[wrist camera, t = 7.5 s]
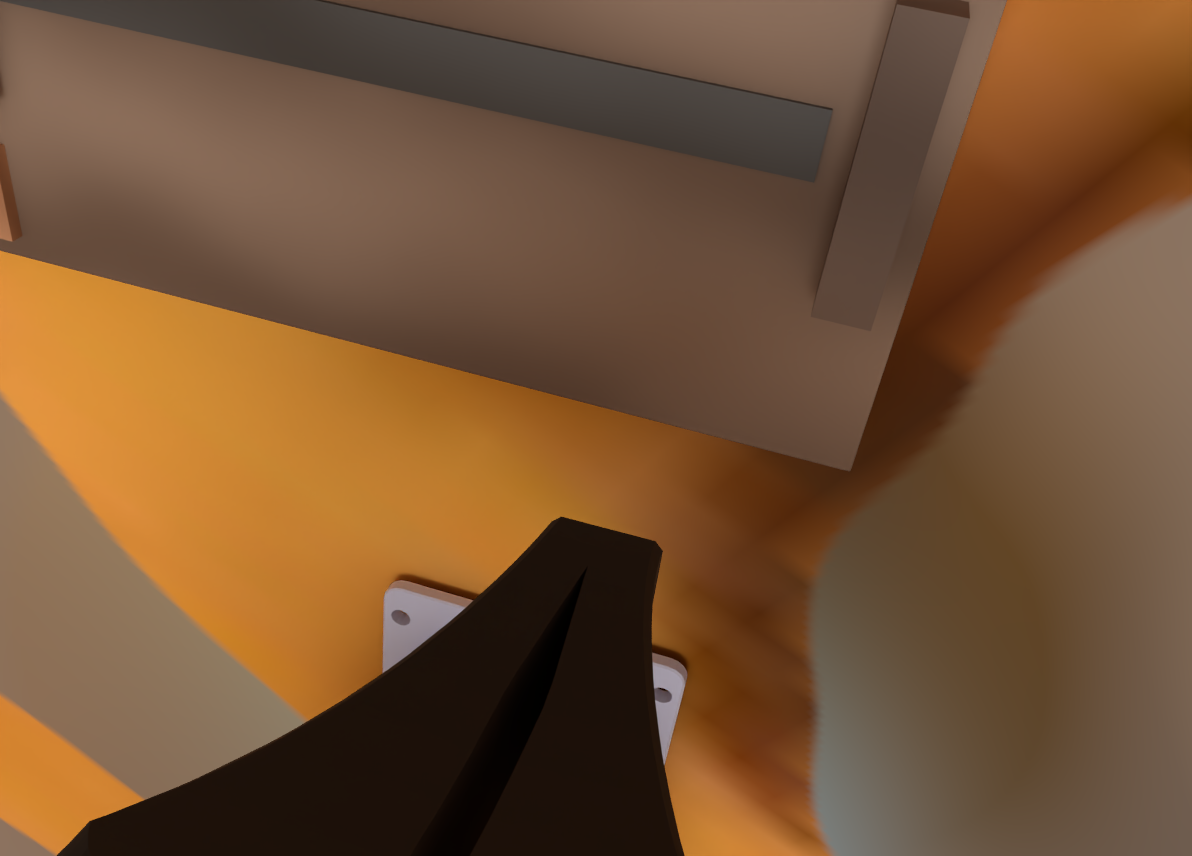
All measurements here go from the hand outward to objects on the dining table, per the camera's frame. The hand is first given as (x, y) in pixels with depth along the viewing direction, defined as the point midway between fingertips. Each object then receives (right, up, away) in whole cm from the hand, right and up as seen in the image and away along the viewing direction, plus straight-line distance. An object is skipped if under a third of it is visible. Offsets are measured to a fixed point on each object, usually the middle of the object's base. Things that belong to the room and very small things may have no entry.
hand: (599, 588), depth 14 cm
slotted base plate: (-5, +10, +7) cm, 13 cm away
